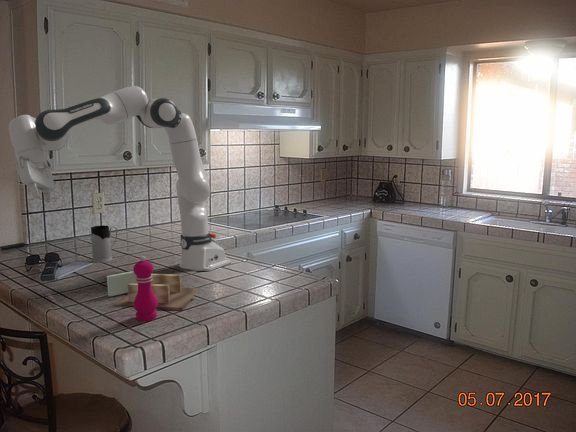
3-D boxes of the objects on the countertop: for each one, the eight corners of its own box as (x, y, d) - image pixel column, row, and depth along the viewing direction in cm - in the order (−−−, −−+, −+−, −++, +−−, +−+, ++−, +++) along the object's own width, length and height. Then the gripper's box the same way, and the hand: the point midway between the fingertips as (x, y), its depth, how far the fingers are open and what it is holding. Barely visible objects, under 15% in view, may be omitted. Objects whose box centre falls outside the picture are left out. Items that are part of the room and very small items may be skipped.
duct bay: (113, 307, 176) (111, 287, 174) (138, 288, 195) (136, 270, 194) (182, 310, 172) (181, 289, 171) (201, 290, 192) (200, 272, 190)
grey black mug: (87, 261, 234) (84, 228, 231) (111, 253, 247) (109, 222, 244) (101, 263, 230) (99, 229, 227) (125, 255, 242) (123, 223, 240)
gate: (108, 295, 184) (106, 276, 183) (140, 288, 191) (138, 270, 190) (109, 296, 183) (108, 277, 182) (141, 289, 190) (140, 270, 188)
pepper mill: (160, 313, 170) (156, 252, 166) (155, 321, 163) (151, 258, 159) (137, 313, 170) (133, 253, 166) (132, 322, 163) (127, 259, 159)
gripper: (27, 151, 170) (39, 191, 169) (52, 165, 190) (63, 201, 189) (8, 157, 169) (19, 198, 168) (35, 170, 190) (45, 207, 188)
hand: (42, 200), depth 179 cm, fingers open, 8 cm apart
